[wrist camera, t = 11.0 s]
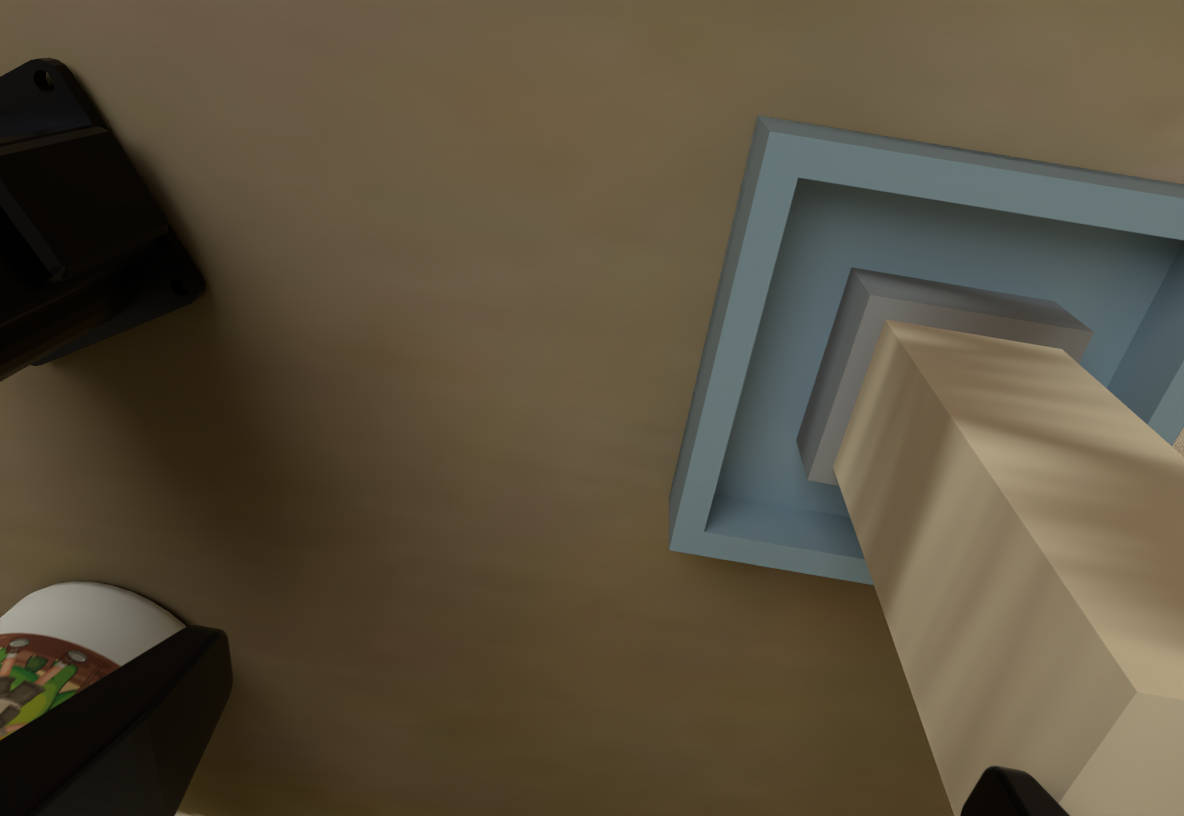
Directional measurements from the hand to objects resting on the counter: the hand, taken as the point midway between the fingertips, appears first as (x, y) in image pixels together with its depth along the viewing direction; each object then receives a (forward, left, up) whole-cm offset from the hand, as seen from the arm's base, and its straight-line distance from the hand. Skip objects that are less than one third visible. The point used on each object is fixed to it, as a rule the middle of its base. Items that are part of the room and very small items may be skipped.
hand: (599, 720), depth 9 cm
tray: (+6, -4, -13) cm, 15 cm away
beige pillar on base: (+6, -4, -12) cm, 14 cm away
